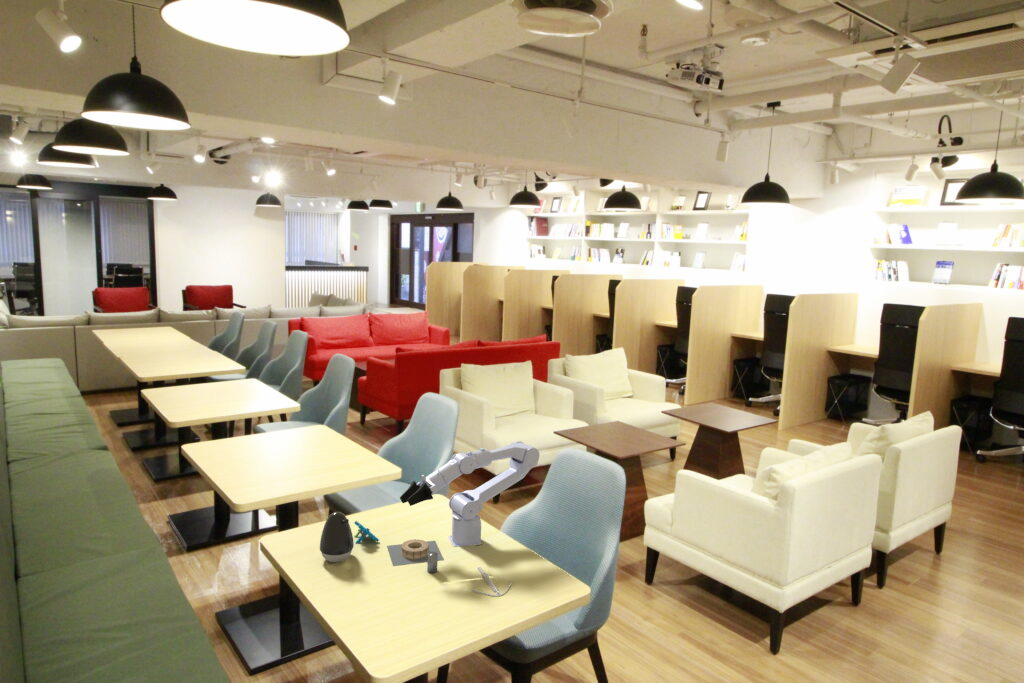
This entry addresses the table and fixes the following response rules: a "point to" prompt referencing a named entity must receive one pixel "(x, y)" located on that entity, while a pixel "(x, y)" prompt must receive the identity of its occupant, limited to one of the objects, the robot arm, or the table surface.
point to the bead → (414, 549)
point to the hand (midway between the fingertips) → (404, 501)
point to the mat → (400, 560)
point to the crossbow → (489, 584)
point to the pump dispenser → (336, 538)
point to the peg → (432, 562)
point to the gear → (364, 533)
